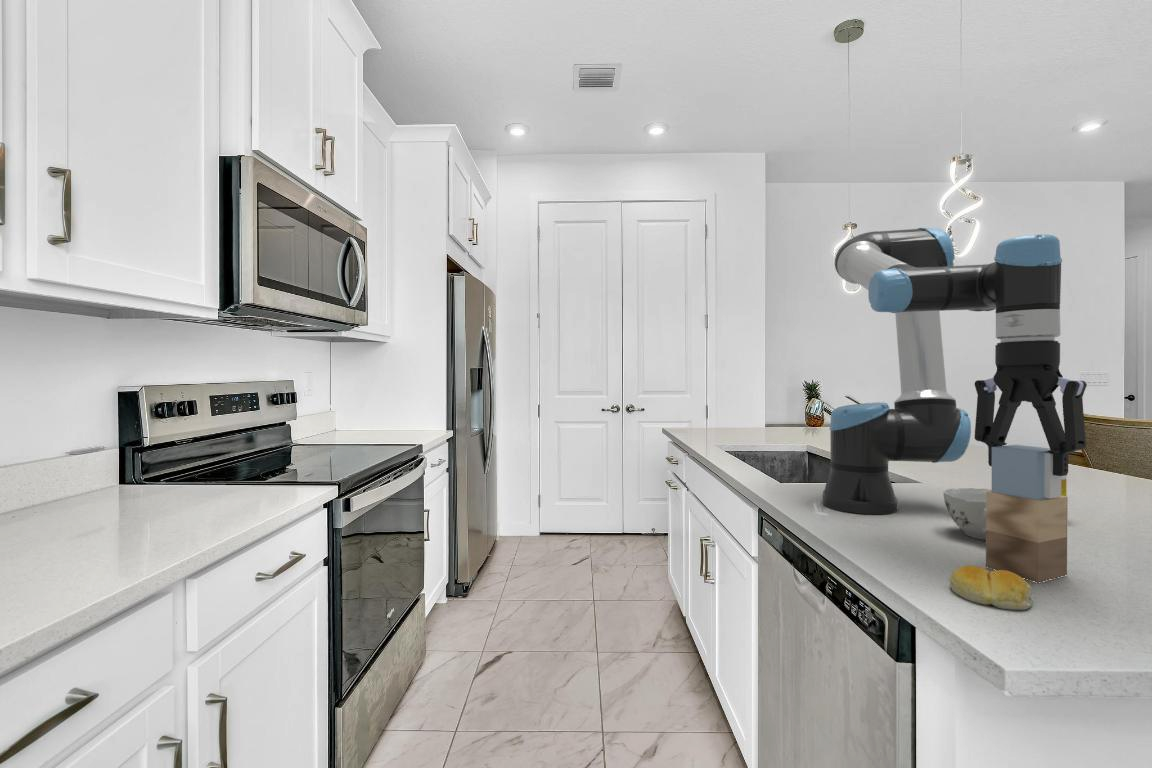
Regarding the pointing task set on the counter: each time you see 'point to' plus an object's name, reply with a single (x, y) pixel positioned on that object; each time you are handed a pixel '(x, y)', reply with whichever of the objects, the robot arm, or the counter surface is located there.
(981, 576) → the bread roll
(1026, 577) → the tower base
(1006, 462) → the slate block
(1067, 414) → the robot arm
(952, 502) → the teacup
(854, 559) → the counter surface
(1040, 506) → the tower mid
